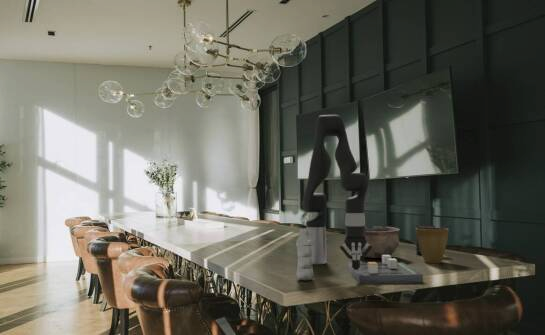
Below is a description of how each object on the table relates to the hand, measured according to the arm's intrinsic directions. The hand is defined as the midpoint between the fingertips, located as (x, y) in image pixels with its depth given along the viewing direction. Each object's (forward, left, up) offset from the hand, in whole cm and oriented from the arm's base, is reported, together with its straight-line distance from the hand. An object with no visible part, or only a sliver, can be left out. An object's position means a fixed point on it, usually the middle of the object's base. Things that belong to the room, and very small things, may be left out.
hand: (356, 269), depth 185 cm
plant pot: (+43, +42, -5) cm, 61 cm away
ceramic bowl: (+20, +57, -5) cm, 61 cm away
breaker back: (+17, +20, -1) cm, 26 cm away
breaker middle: (+16, +10, -1) cm, 19 cm away
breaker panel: (+12, +10, -4) cm, 17 cm away
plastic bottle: (-20, +3, -5) cm, 20 cm away
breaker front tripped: (+6, 0, -1) cm, 7 cm away
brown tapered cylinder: (+47, +65, -5) cm, 81 cm away
